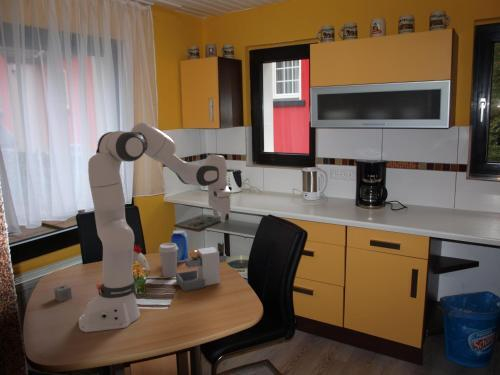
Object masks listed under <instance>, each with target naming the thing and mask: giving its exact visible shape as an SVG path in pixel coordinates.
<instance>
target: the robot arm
mask: <svg viewBox="0 0 500 375" xmlns="http://www.w3.org/2000/svg"><path fill="white" fill-rule="evenodd" d="M176 151H177V147H176V143H175V141H174V140H173V139H172V138H171V137H170V136H168V135H167V134H166V133H164V132H163V131H162V130H160V129H158V128H156V127H155V126H153V125H151V124H149V123H146V122H139V123H137V124H135V125H134V126H133V127H132V128H131V130H130V131H122V130H117V131H109V132H106V133H104V134H103V135H100V138H99V139H98V141H97V148H96V152H95V154H94V155H92V156H91V157H90V158H89V160H88V163H87V164H88V165H87V166H88V167H87V170H88V171H87V172H88V181H89V187H90V193H91V200H92V202H93V203H92V204H93V209H94V210H93V211H94V218H95V219H94V220H95V225H96V231H97V237H98V238H99V239H100V241H101V243H102V264H101V265H102V266H101V267H102V268H101V269H102V279H103V283H102V282H98V283H96V285H95V286H96V289H97V290H98V294H97V295H96V296H94V298H92V299H91V300H89V302H88V303H87V304H86V305H85V308H84V313H83V314H81V315H80V317H79V319H78V327H79V330H80V331H81V332H84V333H91V332H100V331H107V330H115V329H125V328H127V327H128V326H130V324H132V323H133V322H135V321H137V320H138V319H139V318H140V316H141V312H140V309H139V306H138V303H137V298H136V293H137V290H136V288H137V287H136V280H135V279H134V278H133V250H134V245H135V240H136V239H135V234H134V231H133V229H132V227H130V225H129V224H128V222H127V219H126V209H125V208H126V207H125V206H126V199H125V193H124V188H123V182H122V177H121V173H120V172H121V169H120V168H121V164H122V162H135V161H137V160H139V159H140V158H141V157H142V156H144V154H145V155H146V156H147V157H149V158H150V159H153V160H154V161H157V162H158V163H160V164H162V165H164V166H165V167H167V169H169V170H171V171H172V172H174V173H175V175H176V176H177V178H178V179H179V181H180V182H181V183H182V184H184V185H192V186H198V187H199V186H200V187H206V186H207V194H208V196H207V198H208V206H209V208H210V207H211V210H212V213H213V217H214V218H215V219H216V218H219V214H220V220H219V221H220V222H221V223H225V222H226V217H227V215H228V214H230V213H231V196H232V192H231V190H230V189H229V185H228V181H227V175H228V171H227V163H226V158H225V157H224V155H219V154H208V155H207V157H206V158H205V159H204V160H203V161H201V162H200V163H197V162H195V163H194V162H190V161H184V160H182V159H181V158H180V157H178V156H177V155H176Z"/></svg>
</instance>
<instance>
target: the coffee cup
mask: <svg viewBox="0 0 500 375" xmlns="http://www.w3.org/2000/svg"><path fill="white" fill-rule="evenodd" d="M177 250H178V247H177V245H176V244H175V243H172V242H164V243H161V244H160V245H159V247H158V250H157V251H158V252H159V257H160V264H161V271H162V277H164V278H173V277H176V273H177V268H178V267H177V266H178V264H177V263H178V262H177Z"/></svg>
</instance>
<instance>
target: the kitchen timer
mask: <svg viewBox="0 0 500 375" xmlns="http://www.w3.org/2000/svg"><path fill="white" fill-rule="evenodd" d="M142 250H143V247H141V248H140V244H139V245H136V244H134V250H133V264H134V263H135V261H138V262H139V263H141V265H142V267H143V268H146V269H147V270H148V271H149V272H150V273H151V271H150V270H151V269H150V265H149V262H148V259H146V256H145V255H144V254H143V253H142Z"/></svg>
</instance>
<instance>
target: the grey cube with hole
mask: <svg viewBox="0 0 500 375" xmlns="http://www.w3.org/2000/svg"><path fill="white" fill-rule="evenodd" d="M53 292H54V299H55V300H56V301H57V302H59V303H62V302H65V301H69V300H71V299H73V297H72V289H71V286H69V285H67V284H63V285H60V286H57V287H54V288H53Z"/></svg>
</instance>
